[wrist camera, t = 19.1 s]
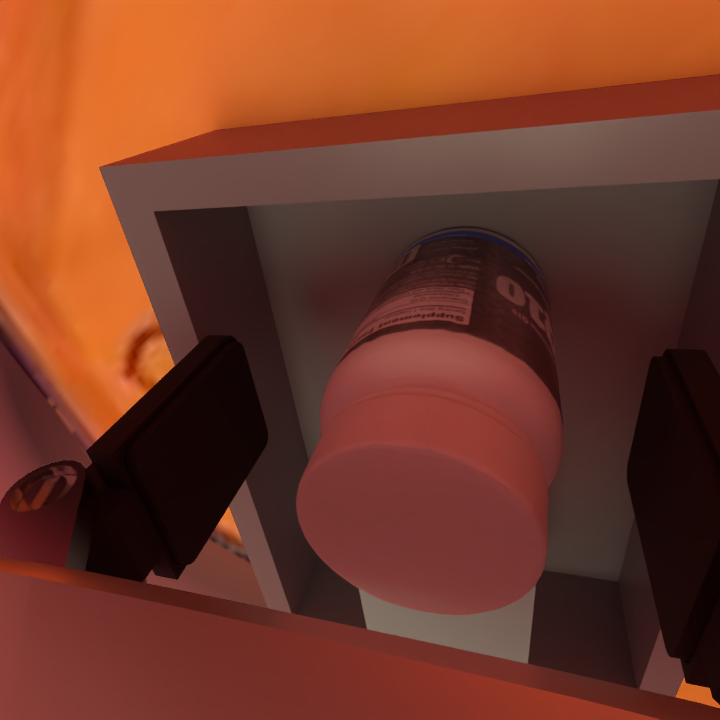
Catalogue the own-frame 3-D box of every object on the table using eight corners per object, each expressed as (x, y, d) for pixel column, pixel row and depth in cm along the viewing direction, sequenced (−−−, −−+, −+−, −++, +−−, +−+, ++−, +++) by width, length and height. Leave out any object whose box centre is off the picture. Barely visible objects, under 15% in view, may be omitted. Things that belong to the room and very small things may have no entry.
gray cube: (526, 535, 19) (526, 670, 15) (399, 518, 20) (368, 637, 16) (534, 436, 16) (537, 568, 12) (387, 424, 18) (348, 539, 14)
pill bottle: (565, 352, 14) (606, 638, 8) (415, 381, 16) (343, 628, 10) (525, 197, 12) (533, 398, 6) (359, 252, 14) (218, 450, 8)
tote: (637, 579, 20) (666, 716, 16) (317, 530, 24) (276, 629, 20) (783, 67, 10) (943, 88, 6) (215, 130, 15) (99, 167, 11)
